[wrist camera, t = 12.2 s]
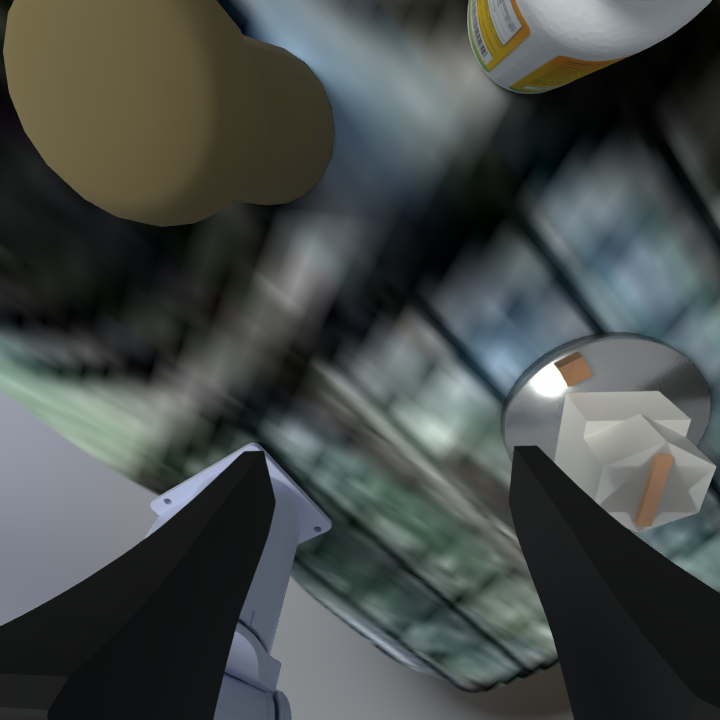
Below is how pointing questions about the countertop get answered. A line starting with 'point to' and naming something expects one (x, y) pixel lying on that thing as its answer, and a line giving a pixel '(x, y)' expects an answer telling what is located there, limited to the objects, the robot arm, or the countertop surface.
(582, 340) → the knobbed pot lid
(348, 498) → the countertop surface
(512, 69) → the supplement bottle
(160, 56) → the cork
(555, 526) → the robot arm
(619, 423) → the white faceted lump
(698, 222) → the countertop surface
